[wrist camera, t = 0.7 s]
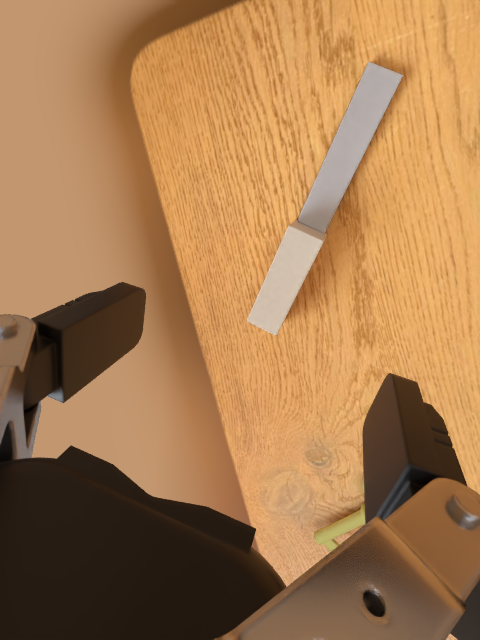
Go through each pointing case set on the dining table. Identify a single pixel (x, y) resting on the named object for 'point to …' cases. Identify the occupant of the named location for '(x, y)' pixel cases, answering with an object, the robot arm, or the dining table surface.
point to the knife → (323, 198)
